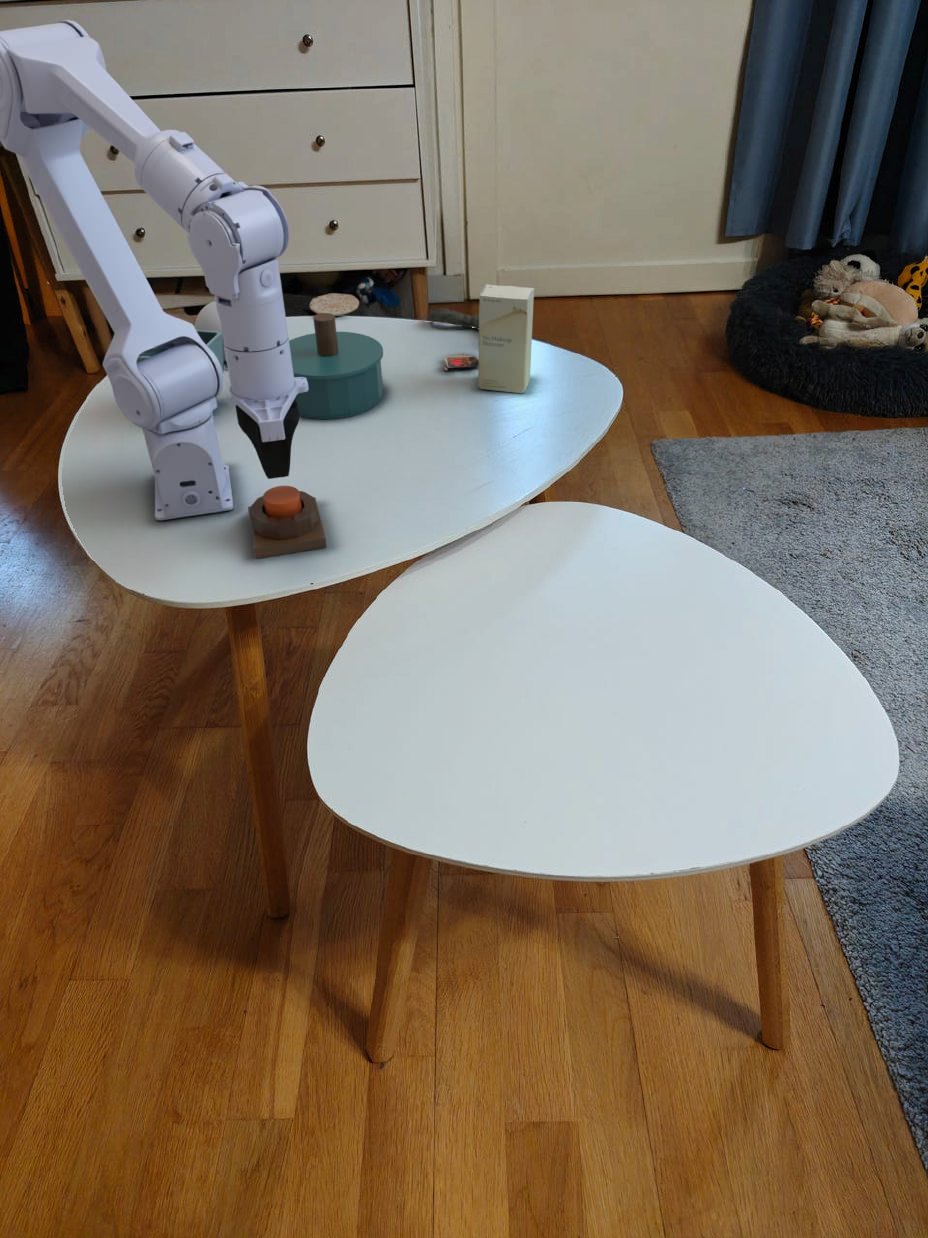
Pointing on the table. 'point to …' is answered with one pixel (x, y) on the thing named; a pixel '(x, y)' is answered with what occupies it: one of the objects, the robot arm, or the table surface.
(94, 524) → the table surface
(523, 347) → the cosmetic box
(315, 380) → the tin
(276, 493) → the button
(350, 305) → the flatbread
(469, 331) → the table surface
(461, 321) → the toy
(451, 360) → the matchbox
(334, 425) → the table surface
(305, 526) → the button block
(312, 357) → the tin lid
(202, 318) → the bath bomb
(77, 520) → the table surface
